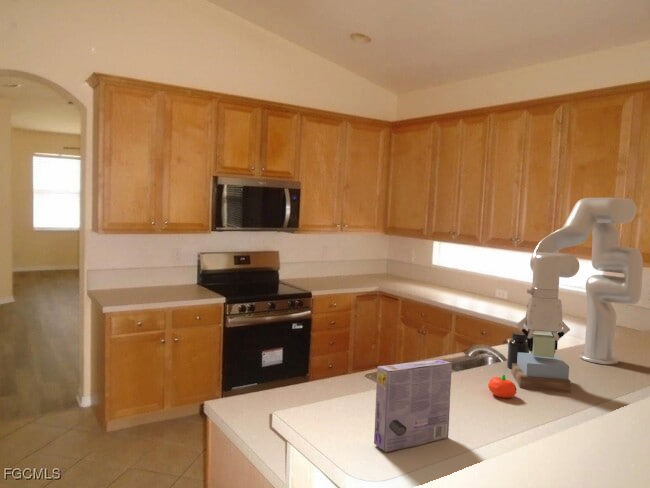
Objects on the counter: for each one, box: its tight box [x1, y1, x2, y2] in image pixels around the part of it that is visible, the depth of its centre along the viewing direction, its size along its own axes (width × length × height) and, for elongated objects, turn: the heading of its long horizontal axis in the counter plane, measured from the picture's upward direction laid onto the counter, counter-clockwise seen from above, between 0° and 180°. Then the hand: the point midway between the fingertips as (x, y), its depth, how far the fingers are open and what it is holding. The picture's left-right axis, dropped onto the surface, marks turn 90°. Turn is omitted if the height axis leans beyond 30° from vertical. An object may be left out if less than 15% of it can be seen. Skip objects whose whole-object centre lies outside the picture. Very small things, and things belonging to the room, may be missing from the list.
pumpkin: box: [487, 374, 517, 399], centre depth 140 cm, size 7×8×6 cm
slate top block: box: [517, 352, 570, 379], centre depth 152 cm, size 12×12×4 cm
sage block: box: [529, 332, 556, 358], centre depth 152 cm, size 6×6×6 cm
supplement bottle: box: [506, 331, 530, 370], centre depth 167 cm, size 7×7×12 cm
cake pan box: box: [373, 359, 453, 454], centre depth 109 cm, size 19×5×18 cm, turn 118°
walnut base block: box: [511, 363, 572, 393], centre depth 152 cm, size 14×14×4 cm
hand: (541, 350), depth 152 cm, fingers closed on sage block, 6 cm apart
